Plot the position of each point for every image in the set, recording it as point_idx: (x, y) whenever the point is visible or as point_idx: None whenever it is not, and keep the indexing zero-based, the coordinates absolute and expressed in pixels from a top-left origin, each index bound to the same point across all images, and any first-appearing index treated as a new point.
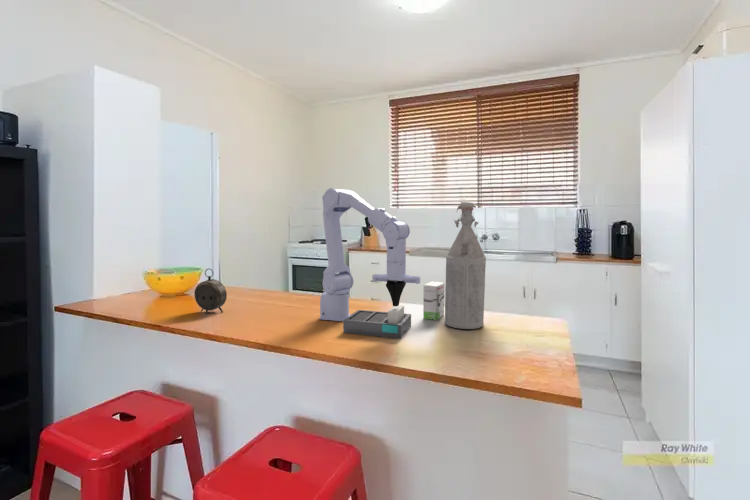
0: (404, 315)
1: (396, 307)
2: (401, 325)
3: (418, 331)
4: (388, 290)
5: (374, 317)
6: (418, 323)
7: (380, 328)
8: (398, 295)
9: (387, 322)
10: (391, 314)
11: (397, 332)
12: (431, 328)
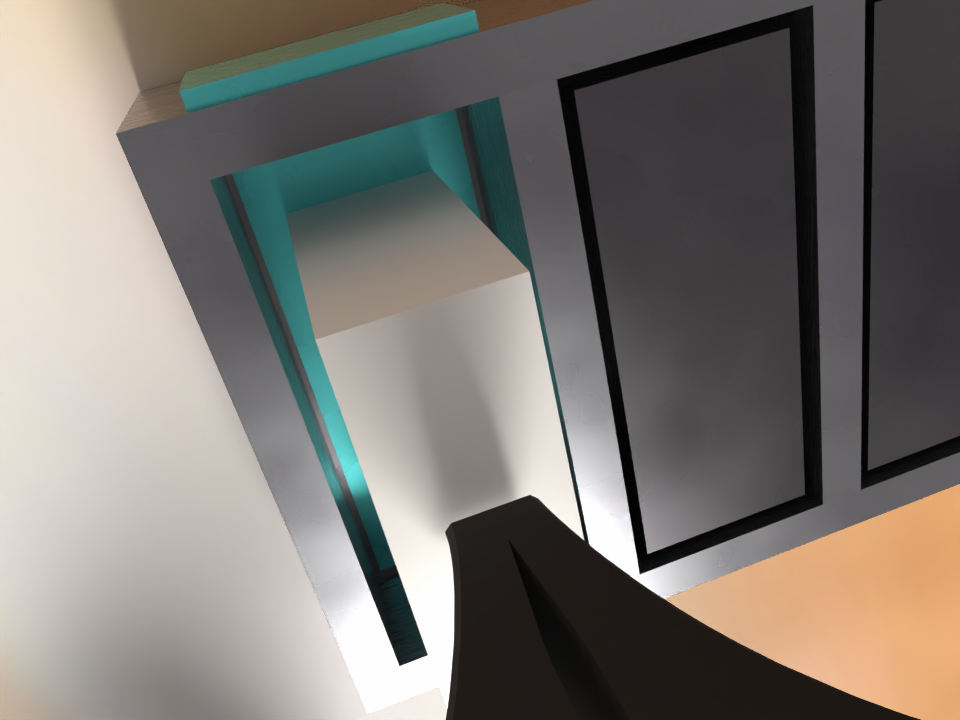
0: None
1: None
2: (124, 148)
3: (149, 503)
4: (822, 682)
5: (759, 299)
6: (332, 713)
7: (493, 14)
8: (460, 712)
9: None
10: (435, 275)
11: (185, 74)
12: (88, 679)
